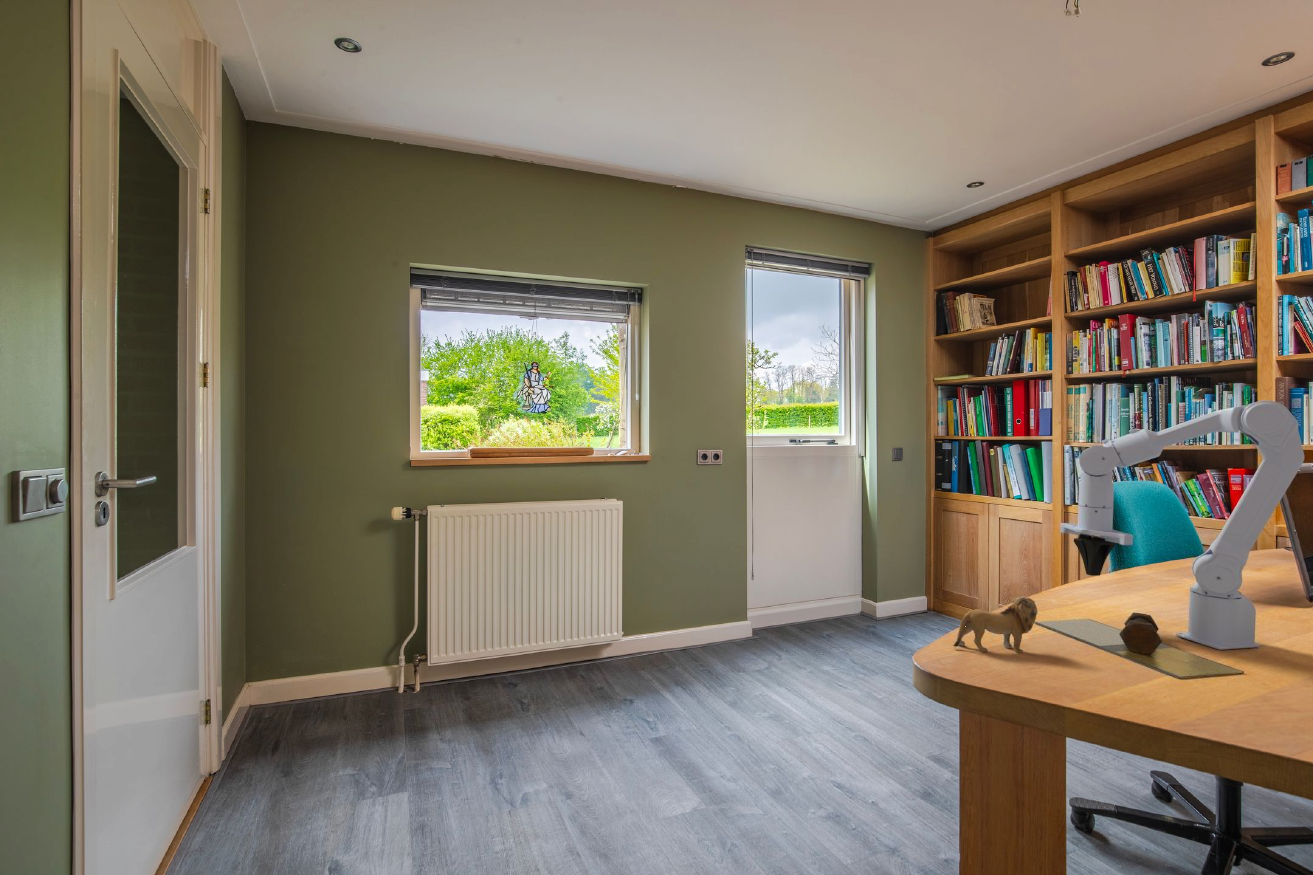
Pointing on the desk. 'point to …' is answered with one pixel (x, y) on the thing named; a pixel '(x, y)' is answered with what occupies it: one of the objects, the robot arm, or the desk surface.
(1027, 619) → the lion figurine
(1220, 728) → the desk surface
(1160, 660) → the flat rectangular plate
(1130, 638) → the bolt
